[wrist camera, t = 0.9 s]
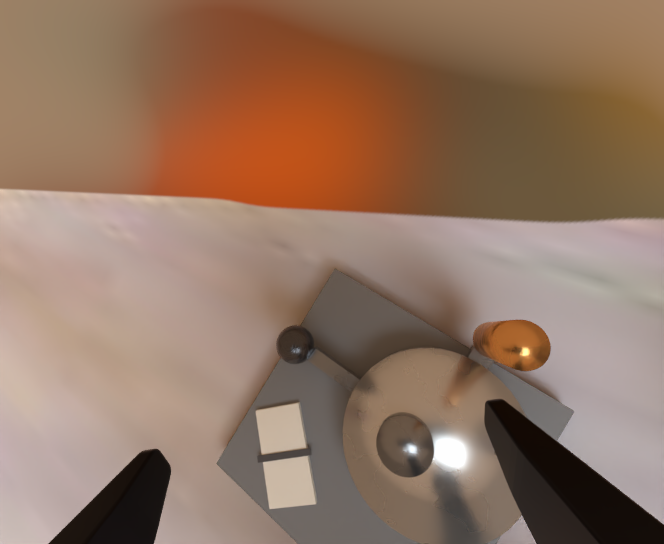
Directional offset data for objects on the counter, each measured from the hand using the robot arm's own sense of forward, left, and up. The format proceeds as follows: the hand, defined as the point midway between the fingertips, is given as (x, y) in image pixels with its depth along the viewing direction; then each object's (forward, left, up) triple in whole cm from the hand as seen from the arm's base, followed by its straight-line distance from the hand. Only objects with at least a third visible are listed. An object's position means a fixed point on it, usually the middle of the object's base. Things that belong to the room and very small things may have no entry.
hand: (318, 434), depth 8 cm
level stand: (-2, +4, -14) cm, 14 cm away
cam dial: (-2, 0, -12) cm, 12 cm away
